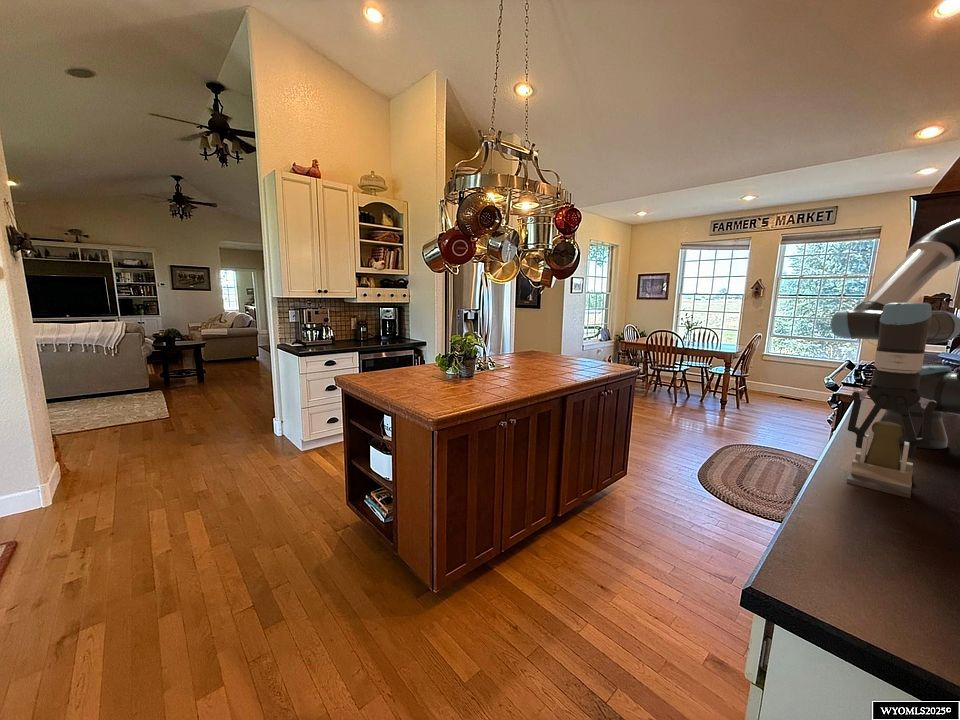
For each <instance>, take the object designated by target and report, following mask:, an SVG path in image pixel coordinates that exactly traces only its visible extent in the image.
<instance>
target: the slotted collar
mask: <svg viewBox="0 0 960 720" xmlns="http://www.w3.org/2000/svg"><path fill="white" fill-rule="evenodd" d="M860 456H861V451H856V453H855V458H854V459H852V463H851V468H850V471H849V474H848V476H847V479H846V483H847V484H851V485H855V486H859V487H862V488H863V487H864V488H868V489H871V490H876V491H879V492H883V493H887V494H891V495H895V496H899V497H903V498H908V499H911V496H912V484H913V483H912V482H913V466H914V463H913V462H910V461H907V463H906V469H905V472H903V471H898V470H894V469H889V468H885V467H880V466H875V465H871V464H866V463H862V462H860ZM866 456H867V453H866ZM865 459H866V457H865ZM901 462H902V459H900V469H901Z"/></svg>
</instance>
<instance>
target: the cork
mask: <svg viewBox="0 0 960 720" xmlns="http://www.w3.org/2000/svg"><path fill="white" fill-rule="evenodd" d="M871 431H872V433H874V434H873V437H872V440H871V442H870V445H869V448H868V450H867V452H866V454H867V456H866V459H865V462H864V463H866V464H871V465H875V466H880V467H885V468H889V469H894V470H898V471H900V460H901V449H900V444H899V438H900V437H902V436H903V434H904V429H903V427H902V426H901V425H899V424H896V423H892V422H886V421H879V420H877V421H875V422H874V423H872V425H871Z"/></svg>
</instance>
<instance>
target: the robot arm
mask: <svg viewBox="0 0 960 720" xmlns="http://www.w3.org/2000/svg"><path fill="white" fill-rule="evenodd" d="M956 262H960V218H957V219H955V220H952V221H949V222H947V223H946V224H943V225H940V226H938V227H937V228H936V229H934V230H932V231H929V232H928V233H927V234H925V235H923V236H921V238H919V239H918V240H917V241H915V243H913V245H911V246H910V247H909V248H908V249H907V251H906V253H905V258H904V259H903V260H902V261H901V262H900V263H899V264H898V265H897V266H896V267H895V268H894V269H893V270H892V271H891V272H890V273H889V274H888V275H887V276H886V277H885V278H884V279H883V280H882V281H881V282H880V283H879V284H878V285H877V286H875V288H874V289H873V290H872V291H871V292H870V293H869V294H868V295H867V296H866V297H865V298H863V300H861V302H860V303H859V304H857V306H856V307H854V309H843V310H838V311H836V312H835V313H834V314H833V315H832V316H831V317H832V318H831V320H830V329H831V333H832V334H834V336H836V337H839V338H846V339H847V338H848V339H852V340H854V339H857V340H875V341H877V346H876V350H875V355H874V356H875V357H874V363H873V364H874V365H873V366H874V367H875V368H876V369H874V370H873V371H872V377H871V384H870V387H869V388H868V390H861V391H858V390H854V391H853V392H852V394H851V396H852V401H853V403H852V407H851V408H852V409H851V412H850V416H849V421H848V425H847V430H848V432H851V433H854V434H855V435H856V441H855V447H856V448H857V449H861V450H860V452H861V456H860V462H862V463H864V462H865V457H866V454H867V452H868V450H867V449H868V443H869V442H868V441H869V436H870V435H869V434H866V432H867V431H868V429H869V428H870V426H872V425H871V424H873V422H874V420H875V419H876V417H877V416H878V414H879V413H880V411H881V410H884V413H883V414H882V415H881V417H880V419H879V420H878V421H886V422H892V423H896V424H899V425H901V426H902V427H903V429H904V434H903V436H902V437H900V438H899V445H903V452H902V456H901V457H902V458H901V461H902V462H901V469H900V471H903V472H905V469H906V463H907V462H908V459H913V460H914V459H915V458H916V454H917V448H921V449H930V450H935V449H936V450H937V449H938V450H940V449H941V450H942V449H946V448H948V445H949V444H948V443H949V439H948V436H947V432H946V429H945V425H944V422H943V416H944V413H945V414H951V415H956V416H960V366H959V367H958V371H957V372H953V371H952V368H951V366H948V365H947V366H946V365H924V364H923V363H924V358H925V353H926V345H927V344H935V345H936V344H940V343H944V342H949V341H951V340H953V339H955V338H956V337H957V336H958V335H960V317H959V316H957V315H956V314H955V313H952V312H949V311H945V310H932V305H931V304H930V303H929V302H909V301H910V300H911V299H912V298H913V297H914V296H915V295H916V294H917V293H918V292H919V291H920V290H921V289H922V288H923V287H924V286H925V285H926V284H927V283H928V282H929V280H931V279H932V278H933V277H934V276H935V275H936V274H937V273H938V272H939V271H942V270H944V269H946V268H948V267H949V266H951V265H952V264H953V263H956ZM866 397H869V398H870V400H871V401H872V402H873V404H874V405H873V407H872V408H871V410H870V412H869V413H868V415H867V416H866V418H865V420H864V421H863V422H862V424H861V426H860V427H859V426H857V422H858V419H859V414H860V410H861V405H862V401H864V400H865V399H866ZM872 433H873V432H872ZM873 435H874V433H873Z"/></svg>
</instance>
